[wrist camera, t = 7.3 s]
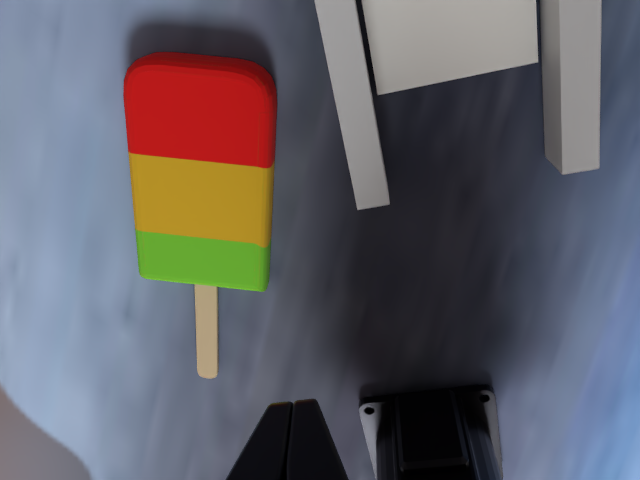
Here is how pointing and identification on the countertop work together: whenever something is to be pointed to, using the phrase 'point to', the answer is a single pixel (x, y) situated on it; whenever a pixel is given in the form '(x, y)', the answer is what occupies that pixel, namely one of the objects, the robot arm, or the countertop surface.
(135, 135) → the popsicle
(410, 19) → the frame
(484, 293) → the countertop surface
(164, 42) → the countertop surface
